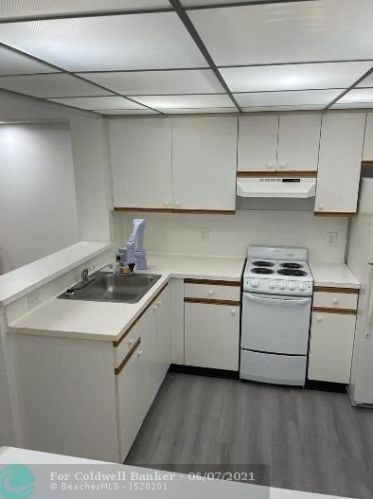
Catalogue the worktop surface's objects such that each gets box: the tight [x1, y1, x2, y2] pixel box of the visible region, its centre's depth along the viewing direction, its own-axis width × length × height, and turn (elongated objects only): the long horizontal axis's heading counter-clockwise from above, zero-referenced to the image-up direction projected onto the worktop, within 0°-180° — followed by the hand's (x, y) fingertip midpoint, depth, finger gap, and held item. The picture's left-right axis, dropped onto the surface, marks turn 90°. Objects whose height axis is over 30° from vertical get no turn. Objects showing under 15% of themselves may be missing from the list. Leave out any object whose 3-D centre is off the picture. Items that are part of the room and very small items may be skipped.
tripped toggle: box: [122, 266, 129, 273], centre depth 297 cm, size 4×3×4 cm
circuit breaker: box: [115, 246, 128, 267], centre depth 325 cm, size 8×14×15 cm, turn 152°
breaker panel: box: [112, 264, 134, 277], centre depth 303 cm, size 16×18×4 cm
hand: (131, 271), depth 298 cm, fingers closed
